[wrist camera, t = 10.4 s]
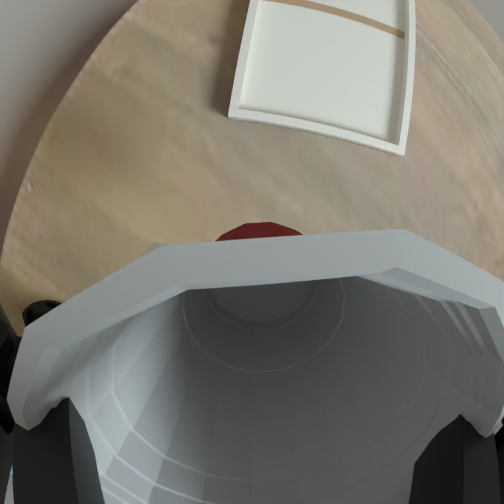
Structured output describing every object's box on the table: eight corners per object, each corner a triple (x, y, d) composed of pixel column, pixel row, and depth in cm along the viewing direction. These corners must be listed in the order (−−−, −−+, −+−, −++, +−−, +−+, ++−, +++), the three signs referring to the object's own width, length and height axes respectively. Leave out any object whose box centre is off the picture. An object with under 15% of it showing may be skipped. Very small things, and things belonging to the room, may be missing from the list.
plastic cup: (400, 237, 14) (570, 380, 3) (291, 377, 17) (318, 555, 6) (221, 121, 12) (60, -18, 1) (132, 302, 15) (26, 484, 4)
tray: (229, 119, 25) (227, 116, 23) (270, -73, 16) (271, -82, 14) (394, 154, 26) (404, 155, 24) (403, -36, 17) (410, -43, 15)
